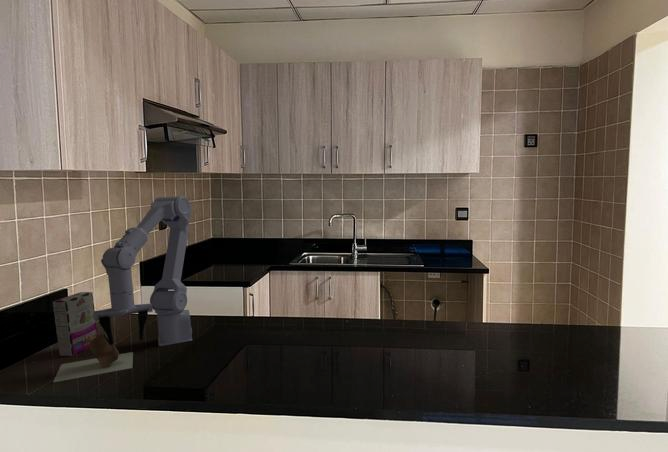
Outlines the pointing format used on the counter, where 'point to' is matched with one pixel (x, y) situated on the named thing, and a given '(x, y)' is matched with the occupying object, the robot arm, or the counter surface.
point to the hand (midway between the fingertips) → (126, 341)
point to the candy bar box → (75, 323)
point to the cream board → (92, 367)
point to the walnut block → (103, 350)
